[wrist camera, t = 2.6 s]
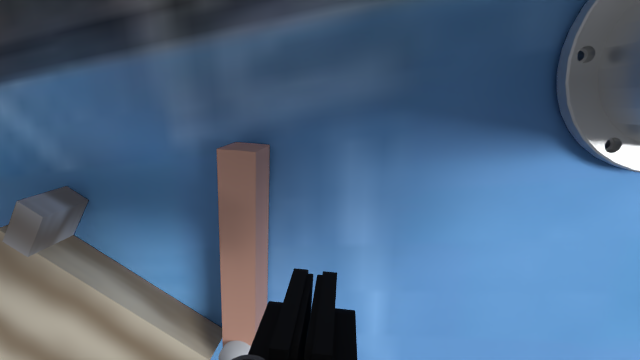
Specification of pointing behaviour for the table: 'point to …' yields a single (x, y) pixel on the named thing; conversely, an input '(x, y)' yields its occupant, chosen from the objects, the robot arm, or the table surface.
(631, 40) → the robot arm
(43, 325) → the stool seat
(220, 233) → the folding leg
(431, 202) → the table surface
